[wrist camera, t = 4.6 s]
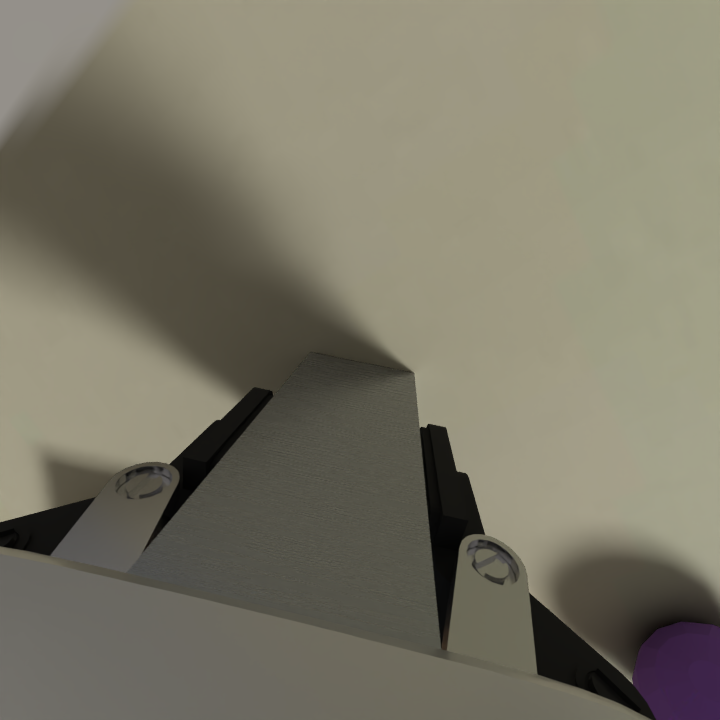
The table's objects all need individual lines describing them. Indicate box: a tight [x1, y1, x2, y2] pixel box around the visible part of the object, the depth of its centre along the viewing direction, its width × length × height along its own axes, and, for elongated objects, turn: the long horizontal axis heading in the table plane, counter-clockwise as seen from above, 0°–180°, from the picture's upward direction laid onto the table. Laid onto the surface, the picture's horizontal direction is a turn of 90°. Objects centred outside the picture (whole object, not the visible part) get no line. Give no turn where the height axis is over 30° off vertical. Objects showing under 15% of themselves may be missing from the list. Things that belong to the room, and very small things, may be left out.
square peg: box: [127, 352, 441, 649], centre depth 9 cm, size 4×4×10 cm
